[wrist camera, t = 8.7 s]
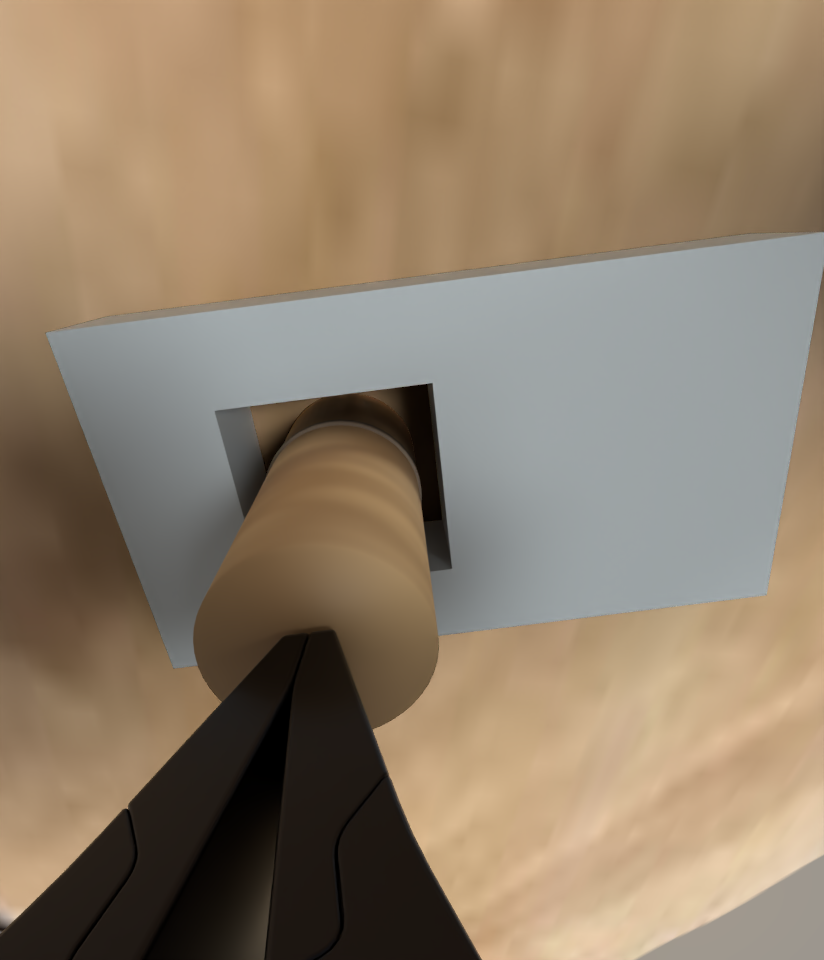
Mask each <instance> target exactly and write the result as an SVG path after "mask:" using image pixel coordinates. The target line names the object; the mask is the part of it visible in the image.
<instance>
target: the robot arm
mask: <svg viewBox="0 0 824 960" xmlns="http://www.w3.org/2000/svg"><path fill="white" fill-rule="evenodd" d="M128 809H129V810H128ZM128 809H123V810H122V811H121V812H120V813H119V814H118V815H117V817H116V818H115V819H114V820H113V821H112V822H111V823H110V824H109V825H108V826H107V827H106V828H105V830H104V831H103V832H102V833H101V834H100V835H99V836H98V837H97V838H96V839H95V840H94V841H93V842H92V843H91V844H90V845H89V846H88V847H87V848H86V850H85V851H84V852H83V853H82V854H81V855H80V856H79V857H78V858H77V859H76V860H75V861H74V862H73V863H72V864H71V865H70V866H69V867H68V868H67V869H66V870H65V871H64V872H63V873H62V874H61V875H60V876H59V877H58V878H57V879H56V880H55V881H54V882H53V883H52V884H51V885H50V886H49V887H48V888H47V889H46V890H45V891H44V892H43V893H42V894H41V895H40V896H39V897H38V898H37V899H36V900H35V901H34V902H33V903H32V904H31V905H30V906H29V907H28V908H27V909H26V910H25V911H24V912H23V913H22V914H21V915H20V916H19V917H17V918H16V919H15V920H14V921H13V922H12V923H11V924H10V925H9V926H8V927H7V928H6V929H5V930H4V931H3V932H2V933H1V934H0V960H482V959H481V957H480V956H479V954H478V952H477V950H476V948H475V947H474V945H473V943H472V941H471V940H470V938H469V936H468V934H467V932H466V931H465V929H464V927H463V925H462V923H461V922H460V920H459V918H458V916H457V915H456V913H455V911H454V909H453V907H452V906H451V904H450V902H449V900H448V899H447V897H446V895H445V893H444V891H443V890H442V888H441V886H440V884H439V882H438V881H437V879H436V877H435V875H434V874H433V872H432V870H431V868H430V866H429V864H428V862H427V860H426V858H425V856H424V854H423V852H422V850H421V849H420V847H419V845H418V843H417V841H416V839H415V837H414V835H413V833H412V830H411V828H410V826H409V823H408V821H407V818H406V816H405V814H404V811H403V809H402V807H401V804H400V802H399V799H398V796H397V794H396V791H395V788H394V786H393V783H392V780H391V779H390V777H389V773H388V770H387V768H386V765H385V762H384V760H383V757H382V754H381V752H380V749H379V746H378V744H377V741H376V738H375V735H374V733H373V730H372V727H371V725H370V722H369V719H368V717H367V714H366V711H365V709H364V706H363V703H362V701H361V698H360V695H359V693H358V690H357V687H356V684H355V682H354V679H353V676H352V674H351V671H350V668H349V666H348V663H347V660H346V658H345V655H344V652H343V650H342V647H341V644H340V642H339V639H338V636H337V634H336V631H335V630H332V629H331V630H323V631H315V632H312V633H311V634H310V635H309V634H308V633H298V634H290V635H285V636H283V637H282V638H281V639H280V640H279V641H278V642H277V643H276V644H275V645H274V646H273V648H272V649H271V650H270V651H269V652H268V653H267V654H266V655H265V656H264V657H263V658H262V659H261V661H260V662H259V663H258V664H257V665H256V666H255V667H254V668H253V669H252V670H251V671H250V672H249V674H248V675H247V676H246V677H245V678H244V679H243V680H242V681H241V682H240V683H239V684H238V685H237V687H236V688H235V689H234V690H233V691H232V692H231V693H230V694H229V695H228V696H227V697H226V699H225V700H224V701H223V702H222V703H221V704H220V705H219V706H218V707H217V708H216V709H215V710H214V712H213V713H212V714H211V715H210V716H209V717H208V718H207V719H206V720H205V721H204V722H203V723H202V725H201V726H200V727H199V728H198V729H197V730H196V731H195V732H194V733H193V734H192V735H191V736H190V738H189V739H188V740H187V741H186V742H185V743H184V744H183V745H182V746H181V747H180V748H179V750H178V751H177V752H176V753H175V754H174V755H173V756H172V757H171V758H170V759H169V760H168V761H167V763H166V764H165V765H164V766H163V767H162V768H161V769H160V770H159V771H158V772H157V773H156V774H155V776H154V777H153V778H152V779H151V780H150V781H149V782H148V783H147V784H146V785H145V786H144V788H143V789H142V790H141V791H140V792H139V793H138V794H137V795H136V796H135V797H134V798H133V799H132V801H131V802H130V803H129V804H128Z"/></svg>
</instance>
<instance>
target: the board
mask: <svg viewBox="0 0 824 960" xmlns="http://www.w3.org/2000/svg"><path fill="white" fill-rule="evenodd" d="M823 267H824V232H791V233H751V234H742V235H734V236H726V237H718V238H711V239H703V240H695V241H688V242H680V243H672V244H664V245H657V246H649V247H641V248H633V249H626V250H618V251H610V252H602V253H595V254H587V255H579V256H571V257H564V258H556V259H548V260H540V261H533V262H525V263H517V264H510V265H502V266H494V267H486V268H479V269H471V270H463V271H455V272H448V273H440V274H432V275H424V276H417V277H409V278H401V279H393V280H386V281H378V282H370V283H362V284H355V285H347V286H339V287H331V288H324V289H316V290H308V291H301V292H293V293H285V294H277V295H270V296H262V297H254V298H246V299H239V300H231V301H223V302H215V303H208V304H200V305H192V306H184V307H177V308H169V309H161V310H153V311H146V312H138V313H130V314H123V315H115V316H107V317H103V318H99V319H96V320H92V321H88V322H84V323H80V324H77V325H73V326H69V327H65V328H62V329H58V330H54V331H50V332H46V335H47V338H48V341H49V343H50V346H51V349H52V351H53V354H54V356H55V359H56V362H57V364H58V367H59V370H60V372H61V375H62V377H63V380H64V383H65V385H66V388H67V391H68V393H69V396H70V398H71V401H72V404H73V406H74V409H75V412H76V414H77V417H78V419H79V422H80V425H81V427H82V430H83V432H84V435H85V438H86V440H87V443H88V446H89V448H90V451H91V453H92V456H93V459H94V461H95V464H96V467H97V469H98V472H99V474H100V477H101V480H102V482H103V485H104V488H105V490H106V493H107V495H108V498H109V501H110V503H111V506H112V509H113V511H114V514H115V516H116V519H117V522H118V524H119V527H120V529H121V532H122V535H123V537H124V540H125V543H126V545H127V548H128V550H129V553H130V556H131V558H132V561H133V564H134V566H135V569H136V571H137V574H138V577H139V579H140V582H141V585H142V587H143V590H144V592H145V595H146V598H147V600H148V603H149V606H150V608H151V611H152V613H153V616H154V619H155V621H156V624H157V626H158V629H159V632H160V634H161V637H162V640H163V642H164V645H165V647H166V650H167V653H168V655H169V658H170V661H171V663H172V666H173V668H182V667H191V666H198V665H197V661H196V658H195V654H194V646H193V631H194V624H195V620H196V616H197V613H198V611H199V608H200V606H201V604H202V601H203V599H204V597H205V596H206V594H207V592H208V590H209V588H210V586H211V584H212V582H213V580H214V578H215V576H216V574H217V572H218V570H219V568H220V566H221V564H222V562H223V560H224V559H225V557H226V555H227V553H228V551H229V549H230V547H231V545H232V543H233V541H234V539H235V537H236V535H237V533H238V531H239V529H240V527H241V525H242V524H243V522H244V520H245V518H246V516H247V514H248V512H249V510H250V508H251V506H252V504H253V502H254V500H255V498H256V496H257V494H258V492H259V490H260V488H261V487H262V485H263V483H264V481H265V478H266V471H265V467H264V462H263V458H262V454H261V450H260V446H259V442H258V438H257V434H256V430H255V426H254V422H253V418H252V414H251V410H250V406H256V405H264V404H272V403H280V402H288V401H296V400H304V399H311V398H319V397H327V396H335V395H343V394H351V393H358V392H366V391H374V390H382V389H390V388H398V387H405V386H413V385H421V384H427V385H428V394H429V403H430V412H431V421H432V430H433V440H434V449H435V458H436V467H437V476H438V486H439V495H440V504H441V513H442V520H437V521H429V522H423V523H424V531H425V538H426V546H427V553H428V561H429V569H430V576H431V584H432V592H433V599H434V607H435V615H436V622H437V630H438V636H441V635H449V634H457V633H465V632H473V631H481V630H489V629H497V628H505V627H514V626H522V625H530V624H538V623H546V622H554V621H562V620H570V619H578V618H586V617H594V616H602V615H610V614H619V613H627V612H635V611H643V610H651V609H659V608H667V607H675V606H683V605H691V604H699V603H707V602H715V601H724V600H732V599H740V598H748V597H756V596H764V595H767V589H768V584H769V578H770V572H771V566H772V561H773V555H774V549H775V543H776V538H777V532H778V526H779V520H780V515H781V509H782V503H783V497H784V492H785V486H786V480H787V474H788V469H789V463H790V457H791V451H792V446H793V440H794V434H795V428H796V423H797V417H798V411H799V405H800V400H801V394H802V388H803V382H804V377H805V371H806V365H807V359H808V354H809V348H810V342H811V336H812V331H813V325H814V319H815V313H816V308H817V302H818V296H819V290H820V285H821V279H822V273H823Z"/></svg>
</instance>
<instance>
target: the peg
mask: <svg viewBox="0 0 824 960" xmlns="http://www.w3.org/2000/svg"><path fill="white" fill-rule="evenodd" d="M421 500H422V493H421V483H420V478H419V474H418V471H417V468H416V462H415V454H414V447H413V442H412V438H411V435H410V432H409V430H408V428H407V426H406V424H405V423H404V421H403V420H402V419H401V417H400V416H399V415H398V414H397V413H396V412H395V411H394V410H393V409H392V408H390V407H389V406H388V405H386V404H385V403H383V402H381V401H379V400H377V399H375V398H372V397H369V396H366V395H361V394H354V393H351V394H343V395H335V396H328V397H325V398H322V399H320V400H318V401H316V402H315V403H313V404H312V405H310V406H309V407H308V408H306V409H305V410H304V411H303V412H302V413H301V414H300V416H299V417H298V418H297V420H296V421H295V423H294V424H293V426H292V428H291V430H290V432H289V434H288V436H287V438H286V440H285V442H284V444H283V445H282V446H281V447H280V449H279V450H278V452H277V453H276V455H275V456H274V458H273V460H272V462H271V464H270V466H269V469H268V471H267V475H266V478H265V481H264V483H263V485H262V487H261V488H260V490H259V492H258V494H257V496H256V498H255V500H254V502H253V504H252V506H251V508H250V510H249V512H248V514H247V516H246V518H245V520H244V522H243V524H242V525H241V527H240V529H239V531H238V533H237V535H236V537H235V539H234V541H233V543H232V545H231V547H230V549H229V551H228V553H227V555H226V557H225V559H224V560H223V562H222V564H221V566H220V568H219V570H218V572H217V574H216V576H215V578H214V580H213V582H212V584H211V586H210V588H209V590H208V592H207V594H206V596H205V597H204V599H203V601H202V604H201V606H200V608H199V611H198V613H197V616H196V620H195V624H194V631H193V646H194V654H195V658H196V661H197V665H198V667H199V670H200V672H201V674H202V676H203V678H204V680H205V681H206V683H207V685H208V686H209V688H210V689H211V690H212V691H213V693H214V694H215V695H216V696H217V697H218V699H219V700H221V701H222V702H223V701H224V700H225V699H226V697H227V696H228V695H229V694H230V693H231V692H232V691H233V690H234V689H235V688H236V687H237V685H238V684H239V683H240V682H241V681H242V680H243V679H244V678H245V677H246V676H247V675H248V674H249V672H250V671H251V670H252V669H253V668H254V667H255V666H256V665H257V664H258V663H259V662H260V661H261V659H262V658H263V657H264V656H265V655H266V654H267V653H268V652H269V651H270V650H271V649H272V648H273V646H274V645H275V644H276V643H277V642H278V641H279V640H280V639H281V638H282V637H283V636H285V635H290V634H298V633H308V634H309V635H310V634H311V633H312V632H315V631H323V630H331V629H332V630H335V631H336V634H337V636H338V639H339V642H340V644H341V647H342V650H343V652H344V655H345V658H346V660H347V663H348V666H349V668H350V671H351V674H352V676H353V679H354V682H355V684H356V687H357V690H358V693H359V695H360V698H361V701H362V703H363V706H364V709H365V711H366V714H367V717H368V719H369V722H370V725H371V727H372V729H374V728H377V727H380V726H381V725H383V724H385V723H387V722H389V721H391V720H393V719H394V718H396V717H397V716H399V715H400V714H402V713H403V712H404V711H405V710H407V709H408V708H409V707H410V706H411V705H412V704H413V703H414V702H415V701H416V700H417V699H418V698H419V697H420V695H421V694H422V693H423V691H424V690H425V688H426V687H427V685H428V684H429V682H430V679H431V677H432V675H433V673H434V670H435V667H436V663H437V659H438V651H439V641H438V630H437V622H436V615H435V607H434V599H433V592H432V584H431V576H430V569H429V561H428V553H427V546H426V538H425V531H424V523H423V515H422V508H421Z"/></svg>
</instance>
